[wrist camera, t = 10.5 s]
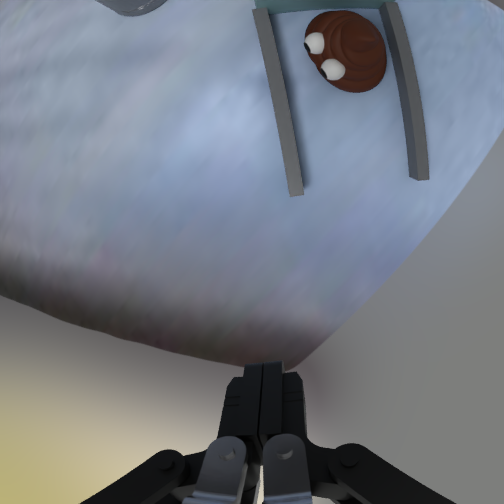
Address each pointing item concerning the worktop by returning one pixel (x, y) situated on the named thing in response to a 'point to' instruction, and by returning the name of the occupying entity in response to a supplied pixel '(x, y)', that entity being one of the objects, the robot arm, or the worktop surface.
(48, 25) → the worktop surface
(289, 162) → the channel
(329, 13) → the poop emoji
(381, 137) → the worktop surface
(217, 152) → the worktop surface
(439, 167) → the worktop surface
